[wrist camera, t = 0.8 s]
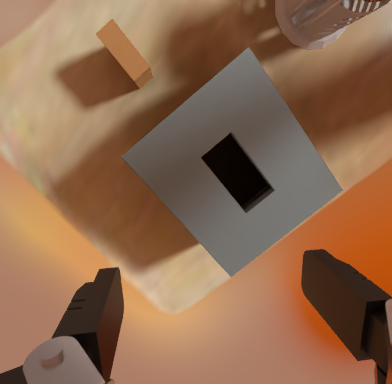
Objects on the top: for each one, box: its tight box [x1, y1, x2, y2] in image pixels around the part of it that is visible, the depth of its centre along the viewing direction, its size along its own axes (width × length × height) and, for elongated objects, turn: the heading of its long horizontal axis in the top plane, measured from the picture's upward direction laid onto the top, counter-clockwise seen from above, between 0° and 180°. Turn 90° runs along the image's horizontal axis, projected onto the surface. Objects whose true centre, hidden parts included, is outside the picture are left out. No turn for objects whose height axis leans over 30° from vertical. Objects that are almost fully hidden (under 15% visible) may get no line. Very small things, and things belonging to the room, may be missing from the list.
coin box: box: [121, 47, 343, 277], centre depth 29 cm, size 14×16×10 cm
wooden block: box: [96, 19, 153, 88], centre depth 27 cm, size 2×5×6 cm, turn 40°
